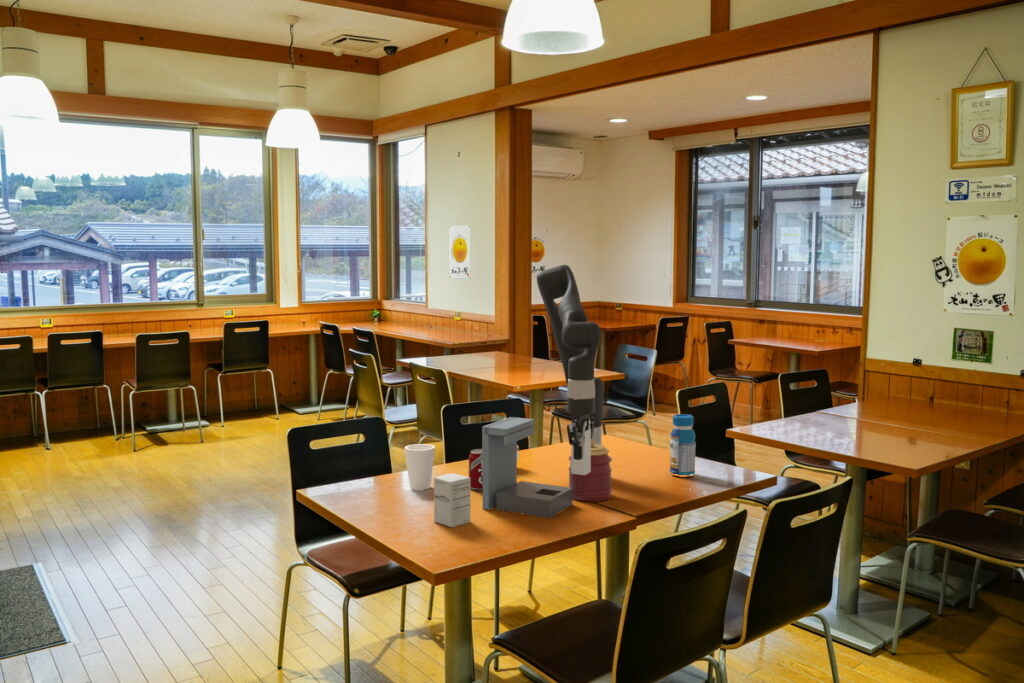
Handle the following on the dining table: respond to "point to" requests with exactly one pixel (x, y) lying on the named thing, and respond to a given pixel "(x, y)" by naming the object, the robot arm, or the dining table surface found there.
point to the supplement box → (452, 499)
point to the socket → (534, 499)
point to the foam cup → (419, 465)
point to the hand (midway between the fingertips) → (580, 457)
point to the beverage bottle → (682, 445)
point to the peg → (583, 456)
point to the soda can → (475, 469)
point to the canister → (593, 477)
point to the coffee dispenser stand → (501, 455)
